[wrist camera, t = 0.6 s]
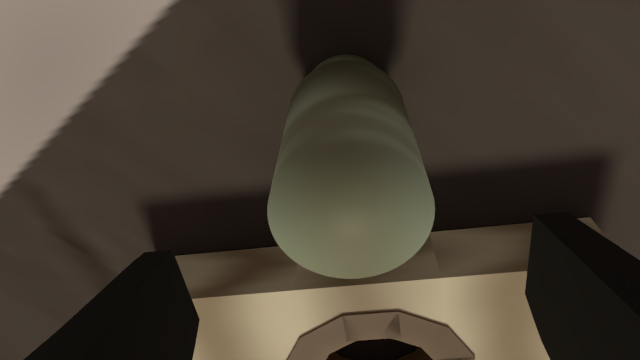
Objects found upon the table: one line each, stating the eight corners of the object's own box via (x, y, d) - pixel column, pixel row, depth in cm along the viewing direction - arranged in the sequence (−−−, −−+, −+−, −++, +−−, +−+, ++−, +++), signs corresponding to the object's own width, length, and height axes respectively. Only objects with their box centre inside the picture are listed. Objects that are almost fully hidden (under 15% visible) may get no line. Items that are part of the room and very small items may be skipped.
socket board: (590, 217, 21) (627, 264, 18) (558, 387, 27) (583, 441, 24) (156, 257, 23) (132, 305, 20) (219, 407, 29) (207, 459, 26)
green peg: (394, 36, 17) (433, 131, 10) (400, 135, 19) (436, 271, 12) (285, 51, 17) (251, 152, 10) (303, 147, 19) (283, 284, 12)
